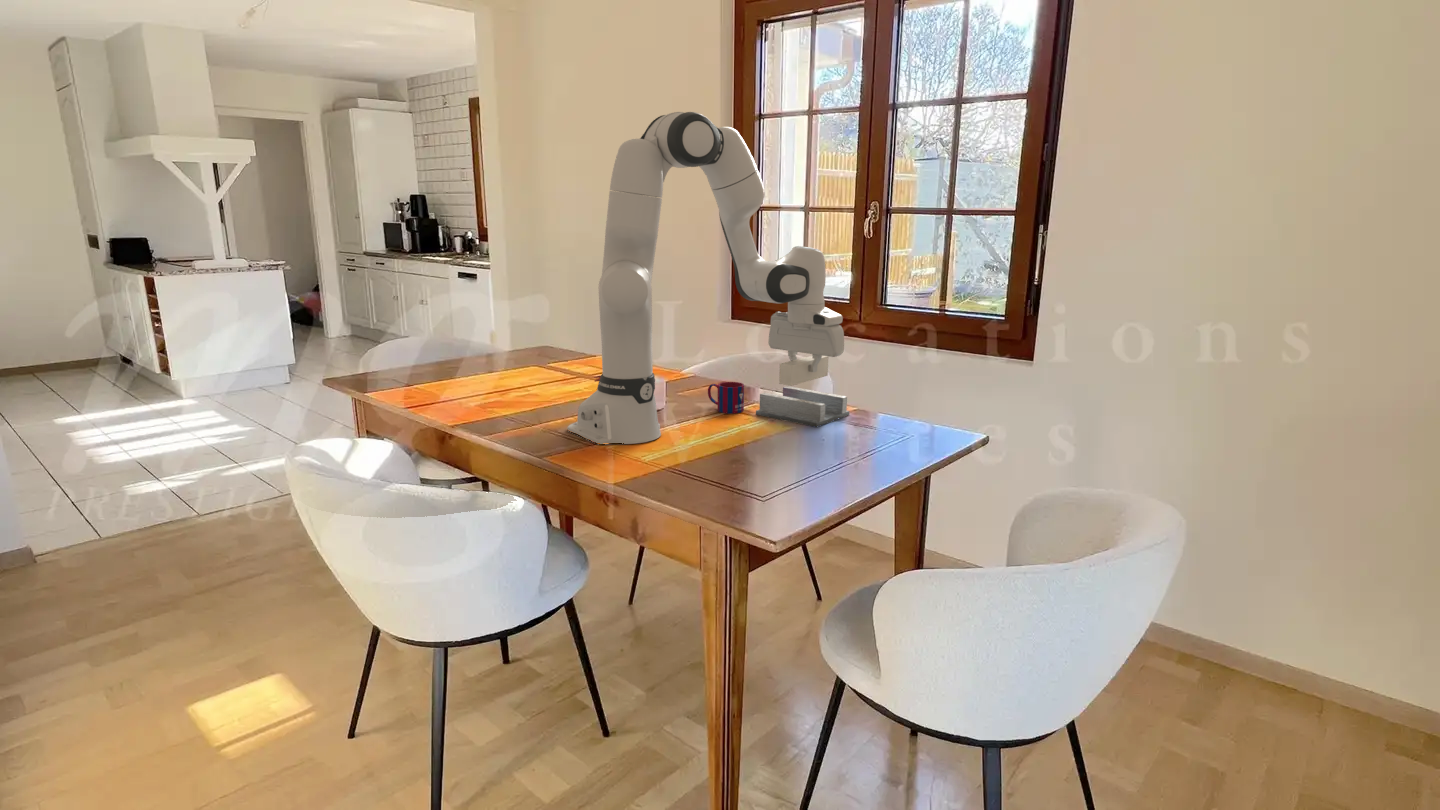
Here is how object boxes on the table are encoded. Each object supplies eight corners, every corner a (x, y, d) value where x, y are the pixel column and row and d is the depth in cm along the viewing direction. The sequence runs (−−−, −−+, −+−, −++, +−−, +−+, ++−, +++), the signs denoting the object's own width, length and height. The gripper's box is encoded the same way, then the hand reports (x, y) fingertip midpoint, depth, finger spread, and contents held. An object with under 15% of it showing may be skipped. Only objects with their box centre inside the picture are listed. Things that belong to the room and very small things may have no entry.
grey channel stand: (755, 414, 195) (756, 394, 194) (790, 403, 206) (790, 385, 205) (816, 427, 184) (817, 406, 183) (849, 414, 195) (850, 395, 194)
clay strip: (779, 383, 188) (779, 363, 187) (816, 373, 200) (816, 354, 199) (791, 386, 186) (791, 365, 185) (827, 375, 198) (828, 356, 197)
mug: (733, 415, 194) (733, 388, 193) (702, 409, 200) (702, 383, 199) (748, 410, 200) (749, 384, 198) (718, 404, 206) (718, 378, 204)
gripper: (763, 312, 193) (762, 367, 197) (834, 319, 180) (832, 378, 184) (778, 309, 198) (777, 363, 201) (848, 316, 185) (846, 373, 188)
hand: (804, 370), depth 192 cm, fingers closed on clay strip, 3 cm apart
